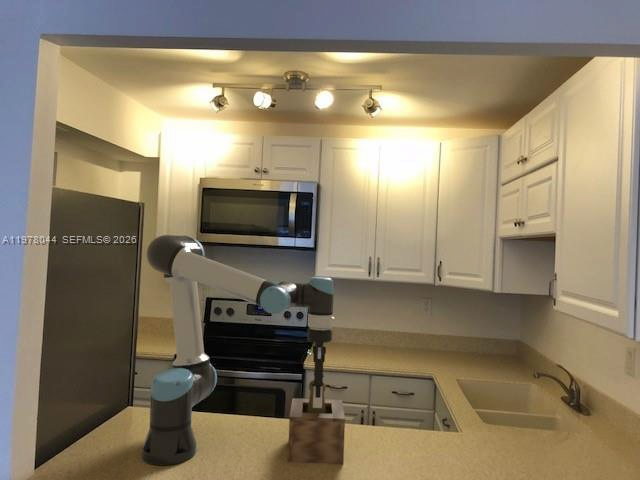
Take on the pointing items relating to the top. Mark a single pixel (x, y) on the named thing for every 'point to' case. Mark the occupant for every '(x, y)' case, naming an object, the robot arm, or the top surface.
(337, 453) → the walnut box
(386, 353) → the top surface
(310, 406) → the cork
